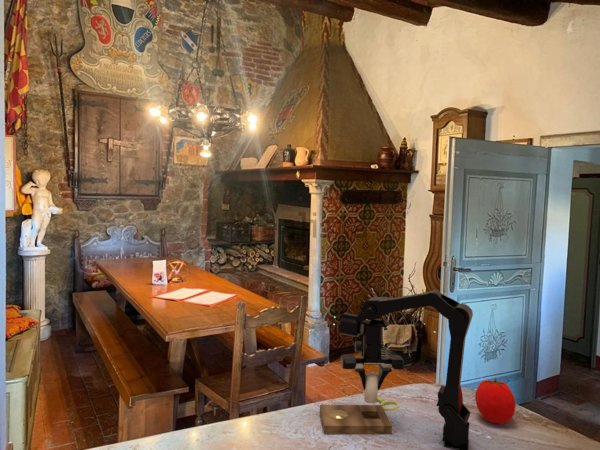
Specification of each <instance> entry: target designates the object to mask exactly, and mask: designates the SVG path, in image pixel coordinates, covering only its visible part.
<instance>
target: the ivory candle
mask: <svg viewBox="0 0 600 450" xmlns="http://www.w3.org/2000/svg"><path fill="white" fill-rule="evenodd" d="M365 384H366V386H365V390H364V395H363V397H364V398H363V400H364V402H365V403H367V404H376V403H378V400H377V397H379V395H378V394H379V393H378V391H379V390H378V373H375V372H365Z"/></svg>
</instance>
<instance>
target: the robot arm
mask: <svg viewBox="0 0 600 450" xmlns="http://www.w3.org/2000/svg"><path fill="white" fill-rule="evenodd" d="M424 307H426V308H427V307H432V308H433V309H435V310H436V311H437V312H438V313H439V314H440V315H441V316H442V317H444V318H445V319H447V320H448V322H447V323H448V329H449V331H448V332H449V335H450V336H449V337H450V342H449V349H448V350H449V352H448V359H447V361H448V362H447V370H446V371H447V372H446V380H445V385H441V386H440V388H439V389H438V392H437V403H436V405H435V407H438V409H437V410H438V413H439V415H440V416H441V417H442V418H443V420H444V423H443V426H442V427H443V428H442V442H443V447H446V448H451V449H454V450H469V447H470V438H469V437H470V436H469V435H470V421H469V418H470V415H471V411H470V410H469V409H468V408H467V407H466V405H465V404H464V399H463V390H462V386H461V384H462V383H461V382H462V374H463V372H462V371H463V363H464V355H465V345H466V337H467V335H468V331H469V329H470V327H471V326H470V325H471V323H472V319H473V316H474V315H473V314H474V312H473V309H472V308H471V307H470V306H469V305H467V304H465V303H460V302H458V301H457V300H455V299H453V298H451V297H448V296H447V295H445V294H443V293H442V292H440V291H439V290H437V289H436V290H435V289H433V290H430V291H425V292H420V293H415V294H409V295H403V296H398V297H397V296H396V297H388V296H373V297H372V298H369V299H368V300H366V301H365V302H364V303H363V304H362V308H361V309H362V310H361V311H360V313H359V314H352V313H349V312H344V313H342V314H341V319H340V320H339V324H338V332H339V334H340V335H343V336H344V335H345V336H350V337H355V338H359V337H360V335H363V340H362V341H360V340H358V341H357V340H356V341H354V352H355V353H356V352H358V353H359V352H360V356H361V357H359V358H358V357H355V354H347V353H344V354H341V356H340V365H341V367H342V369H343V370H354V372H356V373H357V374H358V375H359V378H360V382H361V386H362V389H363V390H364V391H365V386H366V384H365V374H366V369H365V368H364V366H369V365H370V366H374V365H375V366H378V373H377V374H378V391H379V390H380V389H381V386H382V385H383V383H384V381H385V379H386V378H387V376H388V375H389V373H392V372H393V370H395V371H396V370H398V371H399V370H400V371H401V370H402V371H403V370H405V360H404V359H403V358H402V356H401V355H400V354H387V357H385V358H382V357H383V355H382V354H383V335H384V334H383V332H384V329H383V328H385V329H386V328H388V327H389V326H390V322H389V321H388V320H387V319H386V318H385V317H384V316H387V315H388V314H391V313H395V312H401V311H406V310H413V309H419V308H424ZM381 317H382V319H380V318H381ZM378 318H379V319H378ZM368 319H369V320H368ZM392 369H393V370H392Z"/></svg>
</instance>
